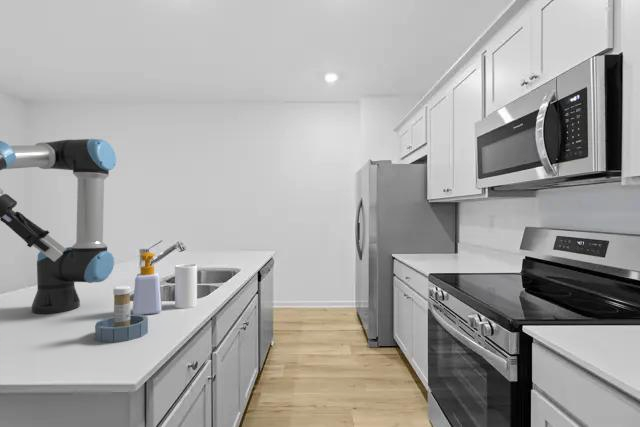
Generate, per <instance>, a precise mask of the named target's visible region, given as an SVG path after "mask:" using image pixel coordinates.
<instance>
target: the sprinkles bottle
mask: <svg viewBox="0 0 640 427" xmlns="http://www.w3.org/2000/svg"><path fill="white" fill-rule="evenodd" d="M112 291H113V299H114V300H113V301H114V302H113V317H114V327H122V326H129V325H130V315H131V300H130V299H131V286H129V285H120V286H116V287H114V288H113V290H112Z"/></svg>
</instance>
